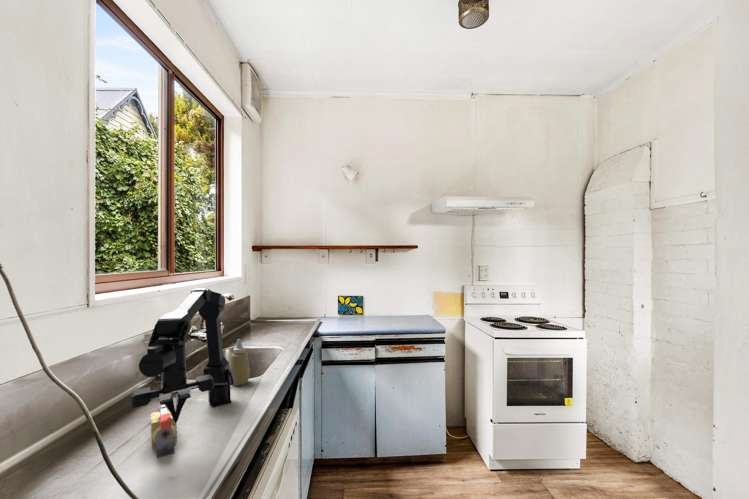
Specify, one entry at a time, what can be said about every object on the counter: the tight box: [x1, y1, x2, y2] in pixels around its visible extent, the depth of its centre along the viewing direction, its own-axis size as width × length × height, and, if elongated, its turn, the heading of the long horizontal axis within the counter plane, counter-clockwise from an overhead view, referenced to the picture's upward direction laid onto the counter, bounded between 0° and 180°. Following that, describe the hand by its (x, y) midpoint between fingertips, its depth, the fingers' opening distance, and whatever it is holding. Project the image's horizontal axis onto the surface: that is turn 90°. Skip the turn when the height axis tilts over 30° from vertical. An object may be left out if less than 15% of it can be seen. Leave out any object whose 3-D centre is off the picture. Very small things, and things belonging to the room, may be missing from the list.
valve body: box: [150, 409, 178, 459], centre depth 100 cm, size 6×22×8 cm, turn 34°
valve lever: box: [156, 404, 171, 431], centre depth 95 cm, size 14×3×2 cm, turn 34°
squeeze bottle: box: [229, 338, 251, 386], centre depth 142 cm, size 8×8×18 cm
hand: (175, 421), depth 93 cm, fingers closed
